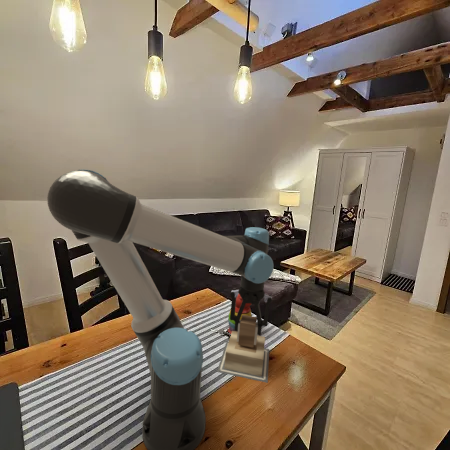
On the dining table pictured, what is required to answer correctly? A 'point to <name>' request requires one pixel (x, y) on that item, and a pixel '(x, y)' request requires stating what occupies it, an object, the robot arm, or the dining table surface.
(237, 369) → the plinth block
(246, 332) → the walnut block
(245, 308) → the stacking bear
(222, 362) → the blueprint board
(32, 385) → the dining table surface
